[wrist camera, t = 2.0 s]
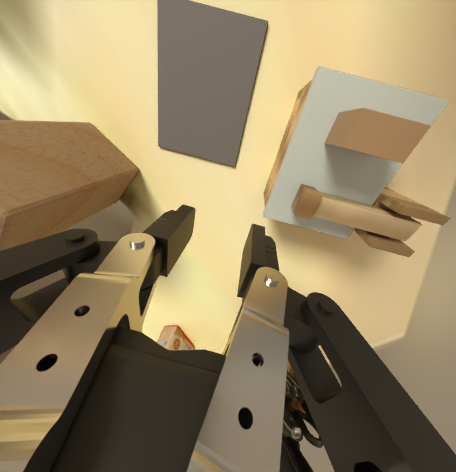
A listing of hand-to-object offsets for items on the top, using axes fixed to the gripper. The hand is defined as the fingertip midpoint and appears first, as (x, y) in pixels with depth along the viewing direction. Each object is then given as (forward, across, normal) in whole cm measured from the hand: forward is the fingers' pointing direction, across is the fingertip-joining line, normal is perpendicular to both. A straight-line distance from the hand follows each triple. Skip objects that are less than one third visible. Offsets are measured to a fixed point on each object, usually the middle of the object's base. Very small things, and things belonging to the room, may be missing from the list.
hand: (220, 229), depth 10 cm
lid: (+14, -10, -4) cm, 18 cm away
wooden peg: (+12, -13, 0) cm, 18 cm away
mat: (+21, +8, -8) cm, 24 cm away
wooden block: (+21, +25, +6) cm, 34 cm away
